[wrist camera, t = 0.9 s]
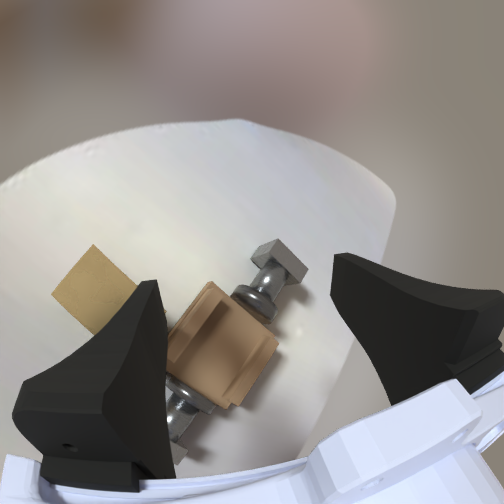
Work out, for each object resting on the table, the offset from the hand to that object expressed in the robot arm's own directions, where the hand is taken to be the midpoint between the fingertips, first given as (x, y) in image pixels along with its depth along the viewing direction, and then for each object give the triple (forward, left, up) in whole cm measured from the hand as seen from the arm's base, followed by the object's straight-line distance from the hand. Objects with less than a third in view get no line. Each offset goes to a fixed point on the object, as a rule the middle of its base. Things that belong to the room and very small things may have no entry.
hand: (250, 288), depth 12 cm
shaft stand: (-1, -5, -14) cm, 15 cm away
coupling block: (-4, +4, -14) cm, 15 cm away
